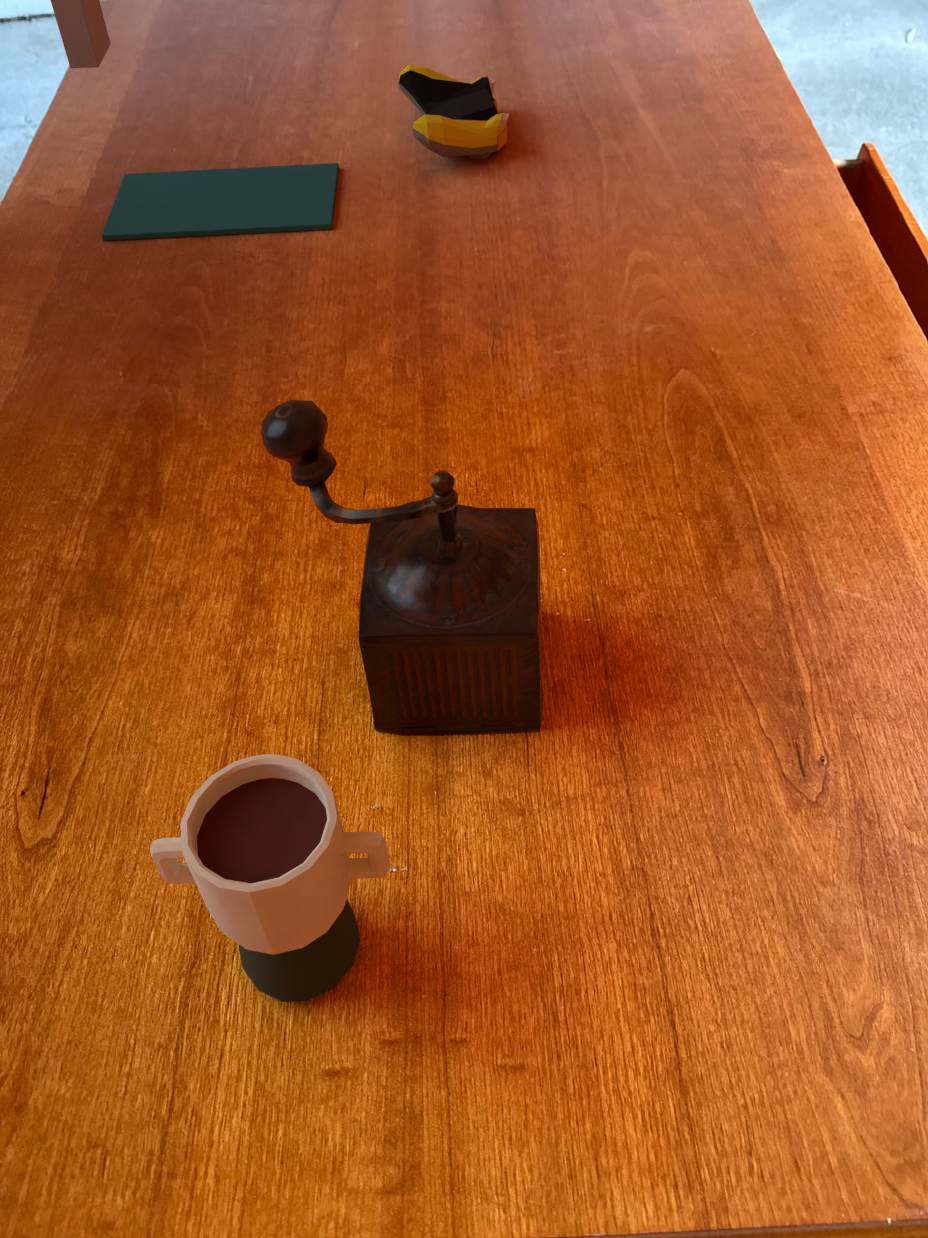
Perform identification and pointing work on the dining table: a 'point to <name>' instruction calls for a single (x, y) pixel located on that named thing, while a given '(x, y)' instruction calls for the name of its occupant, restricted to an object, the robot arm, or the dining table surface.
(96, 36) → the remote
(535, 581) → the manual coffee grinder
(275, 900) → the character mug
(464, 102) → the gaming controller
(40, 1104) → the dining table surface
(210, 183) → the felt mat
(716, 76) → the dining table surface
